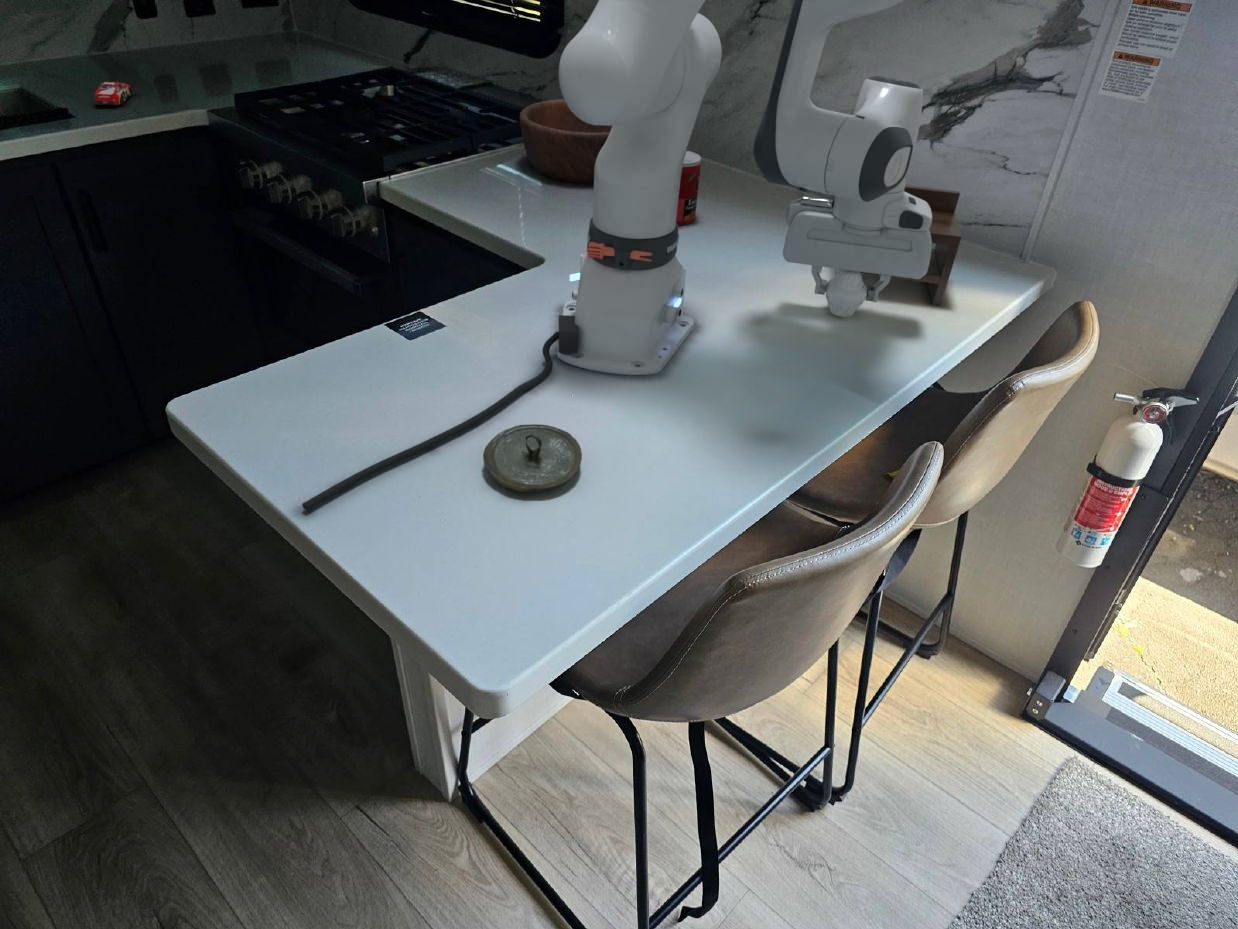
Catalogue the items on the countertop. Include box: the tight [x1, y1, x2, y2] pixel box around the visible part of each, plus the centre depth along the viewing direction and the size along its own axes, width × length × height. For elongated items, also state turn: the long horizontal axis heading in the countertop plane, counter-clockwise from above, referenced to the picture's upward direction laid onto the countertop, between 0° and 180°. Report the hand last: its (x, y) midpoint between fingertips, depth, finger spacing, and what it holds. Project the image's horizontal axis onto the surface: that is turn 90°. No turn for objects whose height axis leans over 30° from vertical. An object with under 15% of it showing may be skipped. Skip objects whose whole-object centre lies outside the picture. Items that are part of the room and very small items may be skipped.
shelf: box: [834, 184, 963, 306], centre depth 131 cm, size 11×16×14 cm
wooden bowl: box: [519, 98, 612, 184], centre depth 170 cm, size 25×25×10 cm
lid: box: [482, 423, 583, 493], centre depth 91 cm, size 11×10×5 cm
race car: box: [94, 81, 133, 106], centre depth 192 cm, size 13×5×4 cm, turn 9°
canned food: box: [676, 150, 702, 226], centre depth 150 cm, size 8×8×11 cm
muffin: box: [825, 269, 868, 318], centre depth 124 cm, size 6×6×7 cm
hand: (845, 296), depth 125 cm, fingers closed on muffin, 6 cm apart
